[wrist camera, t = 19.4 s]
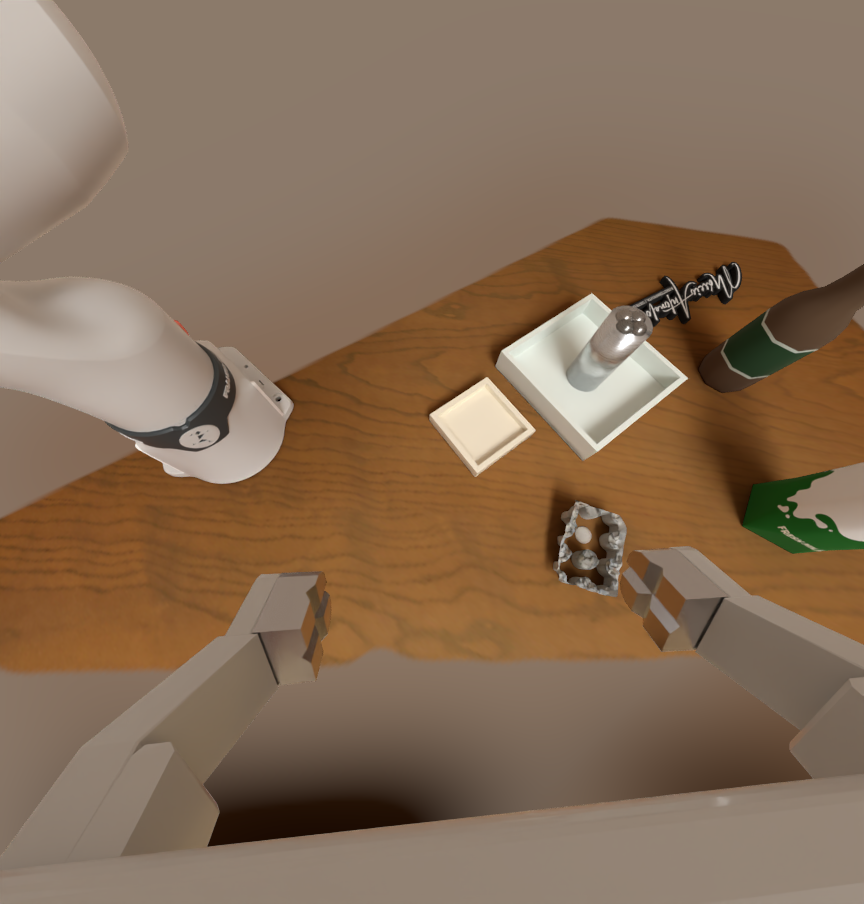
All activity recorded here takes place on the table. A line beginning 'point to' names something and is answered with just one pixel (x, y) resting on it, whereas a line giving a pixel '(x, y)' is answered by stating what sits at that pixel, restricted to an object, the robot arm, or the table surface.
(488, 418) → the tray
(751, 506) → the milk carton
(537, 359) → the bin
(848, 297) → the beer bottle
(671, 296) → the nameplate
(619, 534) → the egg carton
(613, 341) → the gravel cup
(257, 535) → the table surface
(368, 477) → the table surface
